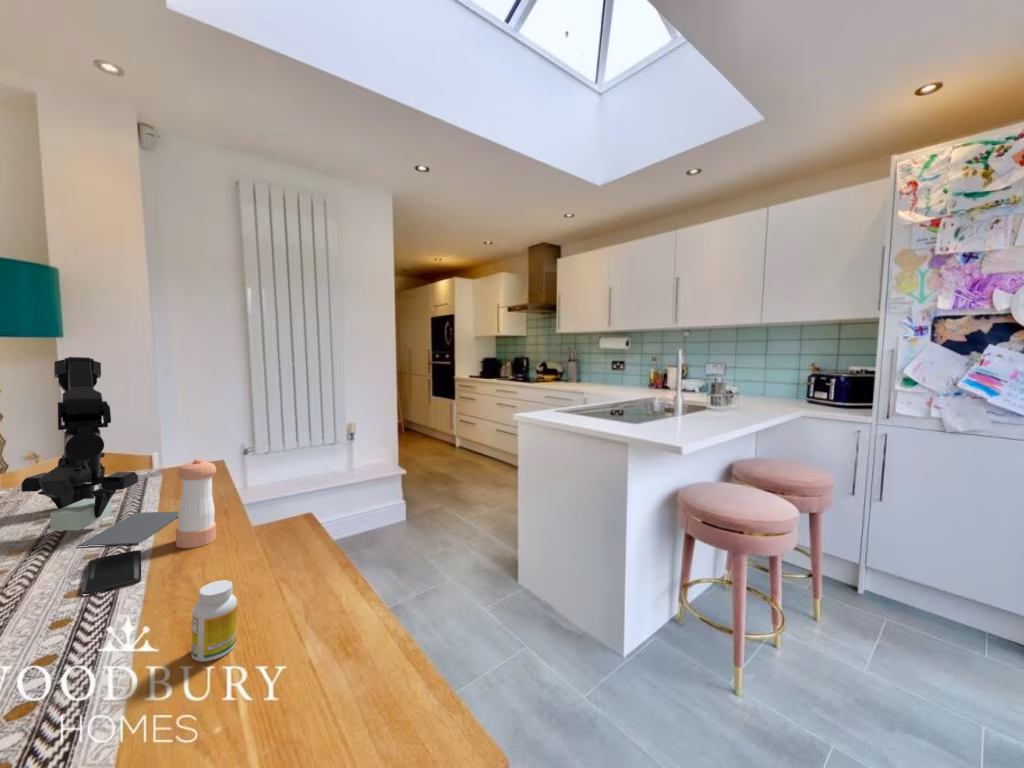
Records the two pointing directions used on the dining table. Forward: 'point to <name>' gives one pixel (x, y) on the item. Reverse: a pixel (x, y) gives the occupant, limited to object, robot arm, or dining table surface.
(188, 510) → the pepper shaker
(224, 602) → the supplement bottle
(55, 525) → the card case
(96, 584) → the phone
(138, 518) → the rubber mat
